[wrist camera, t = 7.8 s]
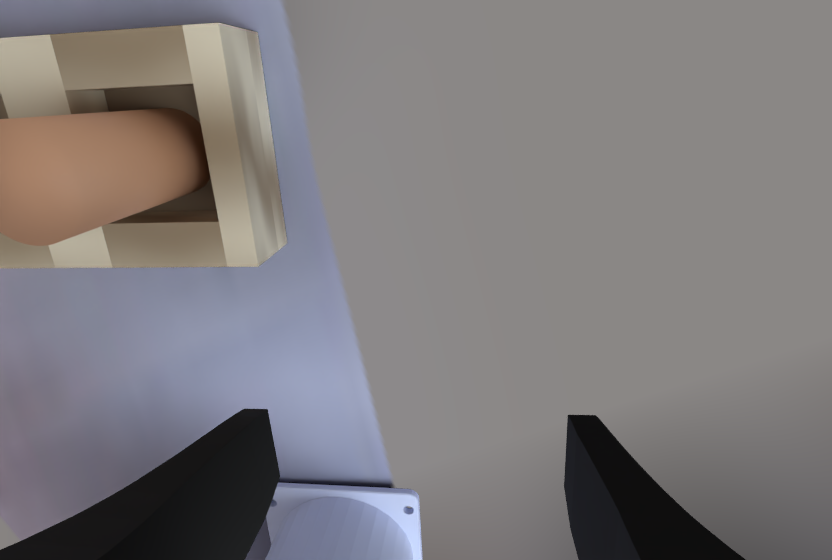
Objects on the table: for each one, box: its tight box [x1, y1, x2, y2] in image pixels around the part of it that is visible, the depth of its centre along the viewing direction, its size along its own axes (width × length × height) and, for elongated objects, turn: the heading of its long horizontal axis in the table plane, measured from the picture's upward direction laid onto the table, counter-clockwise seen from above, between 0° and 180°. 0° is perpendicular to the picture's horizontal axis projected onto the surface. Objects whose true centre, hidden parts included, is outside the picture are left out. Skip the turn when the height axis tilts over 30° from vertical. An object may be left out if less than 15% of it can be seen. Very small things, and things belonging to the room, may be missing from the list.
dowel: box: [0, 108, 211, 246], centre depth 16 cm, size 3×3×7 cm
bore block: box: [0, 23, 287, 268], centre depth 19 cm, size 8×14×3 cm, turn 93°
